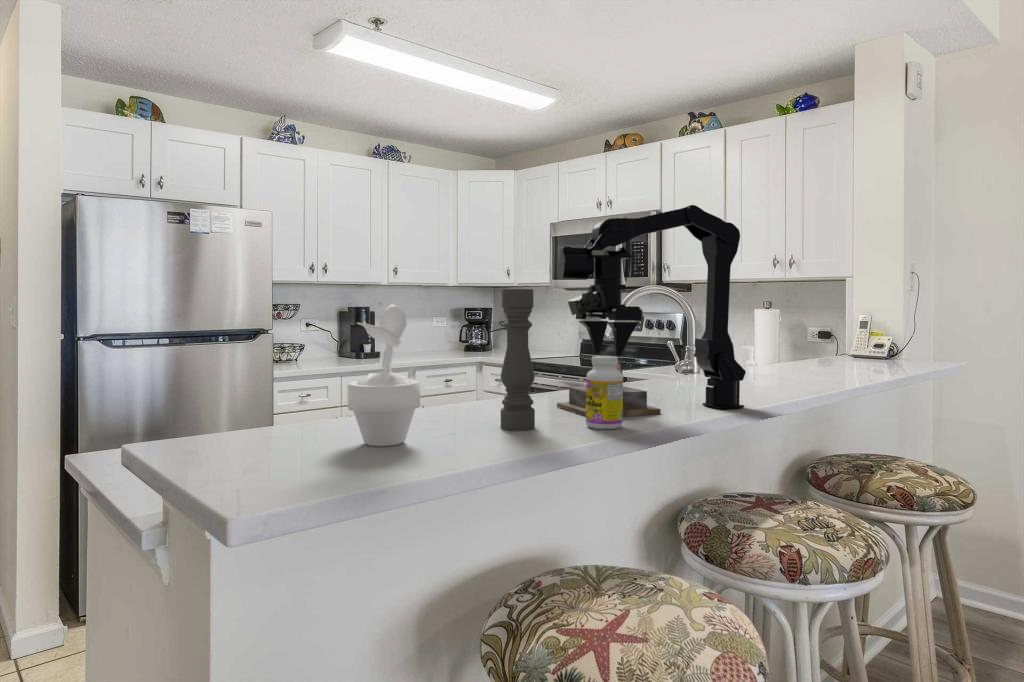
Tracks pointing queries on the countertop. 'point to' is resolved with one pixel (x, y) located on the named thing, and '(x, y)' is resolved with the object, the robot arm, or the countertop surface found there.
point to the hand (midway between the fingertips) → (607, 354)
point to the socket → (631, 402)
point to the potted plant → (384, 388)
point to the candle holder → (517, 361)
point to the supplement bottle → (604, 394)
